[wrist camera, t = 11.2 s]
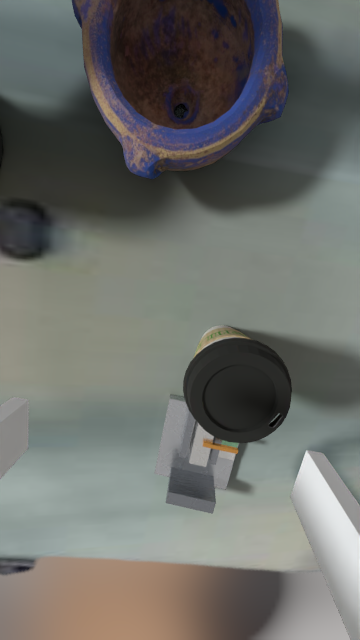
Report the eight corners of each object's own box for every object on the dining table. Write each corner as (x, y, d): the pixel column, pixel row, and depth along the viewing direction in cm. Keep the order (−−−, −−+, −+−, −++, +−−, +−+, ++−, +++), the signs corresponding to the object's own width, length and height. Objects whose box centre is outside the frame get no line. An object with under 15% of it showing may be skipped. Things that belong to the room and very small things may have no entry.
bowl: (274, 165, 29) (313, 110, 19) (140, 210, 31) (115, 181, 21) (240, -4, 26) (267, -171, 16) (95, 60, 28) (41, -53, 18)
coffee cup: (210, 300, 33) (221, 321, 18) (268, 334, 33) (324, 383, 19) (175, 355, 35) (161, 414, 20) (230, 387, 35) (255, 468, 21)
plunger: (192, 383, 35) (192, 401, 30) (244, 394, 35) (252, 414, 30) (179, 444, 37) (176, 470, 32) (227, 455, 37) (232, 483, 32)
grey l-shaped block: (170, 394, 36) (165, 416, 31) (245, 410, 36) (254, 435, 31) (155, 467, 39) (149, 499, 34) (224, 483, 39) (229, 517, 33)
